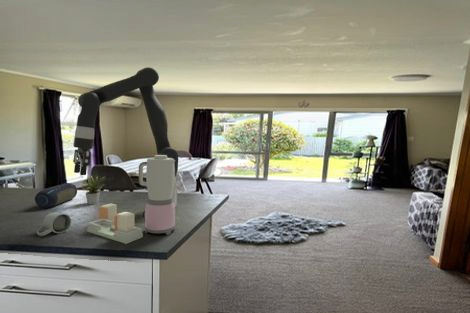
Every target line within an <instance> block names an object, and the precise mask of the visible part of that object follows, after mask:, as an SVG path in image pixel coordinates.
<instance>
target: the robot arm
mask: <svg viewBox="0 0 470 313" xmlns="http://www.w3.org/2000/svg"><path fill="white" fill-rule="evenodd" d="M159 75H160V74H159V73H158V71H157V70H156V69H155V68H154V67H149V66H147V67H144V68H142V69H140V70H138V71H137V72H136V74H134V75H131V76H129V77H127V78H124V79H121V80H117V81H113V82H111V83H108V84H105V85H103V86H102V87H99V88H97V89H94V90H90V91H88V92H87V91H86V92H85V93H82V94H80V95H79V96H78V99H77V103H78V105H79V107H81V109H80V112H79V114H78V115H77V120H76V127H75V131H74V138H73V148H76V149H74V153H73V154H74V155H73V159H72V161H73V164H74V167H73V168H74V169H73V173H76V174H79V175H80V176H86V175H87V170H88V166H90V164H91V155H92V152H91V151H89V150H92V149H93V148H94V142H95V141H94V140H95V127H96V118H97V116H98V112H99V109H100V105H102V104H103V103H109V102H111V101H115V99H116V100H117V99H119V98H120V97H123V96H125V95H127V94H129V93H131V92H134V91H135V90H138V89H139V93H140V94H141V98H142V101H143V104H144V108H145V112H146V116H147V118H148V122H149V126H150V130H151V133H152V135H153V138H154V143H155V148H156V155H167V158H173V159H174V160H175V162H174V167H175V180H174V188H173V194H172V201H173V203H174V206H175V208H177V207H178V188H177V173H178V169H179V153H178V151H177V149H175V148H173V147H172V146H171V143H170V141H169V136H168V135H169V134H168V127H169V126H168V125H169V124H168V119H167V114H166V112H165V110H164V107H163V105H162V104H161V103H160V101H159V100H158V98H157V96H156V93H155V90H154V86H155V85H156V84H157V83H158V82H159V81H160V80H159V79H160V76H159Z"/></svg>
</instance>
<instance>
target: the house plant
mask: <svg viewBox="0 0 470 313" xmlns="http://www.w3.org/2000/svg"><path fill="white" fill-rule="evenodd" d="M90 178H91V179H90ZM90 178H89V177H88V176H87V177H86V179H87V181H85V184H86V185H87V186H86V185H82V187H81V188H80V190H81V189H83V190H85V191H87V192H85V197H86V202H87V204H88V205H92V206H93V205H98V204H99V199H100V194H101V190H100V189H102V187H103V186H104V185H105V183H104V184H101V183H102V182H103V181H104V179H105V176H103V177H101V178H99V180H98V176H96V177H95V178H93V176H92V175H90ZM79 179H80V178H79ZM80 180H81V181H82V182H84V180H83V179H80ZM100 184H101V185H100ZM98 190H100V191H98Z"/></svg>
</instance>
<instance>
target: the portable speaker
mask: <svg viewBox="0 0 470 313" xmlns="http://www.w3.org/2000/svg"><path fill="white" fill-rule="evenodd" d="M77 194H78V188H77V186H76V185H75V184H74V183H71V182H65V183H61V184H58V185H55V186H50V187H47V188H44V189H41V190H40V191H38V192H37V193H36V194H35V196H34V202H35V204H36V205H37V206H38V207H41V208H45V209H48V208H51V207H55V206H58V205H60V204H62V203H65V202H67V201H70V200H73V199H74V198H76V196H77Z"/></svg>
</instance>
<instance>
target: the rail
mask: <svg viewBox="0 0 470 313" xmlns="http://www.w3.org/2000/svg"><path fill="white" fill-rule="evenodd" d="M87 224H88V226H87V228H86V231H87V232H88V233H91V234H94V235H96V236H97V235H98V236H101V237H103V238H106V239H110V240H113V241H116V242H118V243H119V242H120V243H122V244H125V245H127V244H130V243H132V242H134V241H137V240H140V239H141V238H144V233H143V229H142V228H140V227H136V226H135V213H133V212H130V211H129V212H128V211H123V212H120V213H117V215H115V216H114V221H111V220H108V219H104V218H103V219H100V220H99V219H97V220H93V221H90V222H88V223H87Z"/></svg>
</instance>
